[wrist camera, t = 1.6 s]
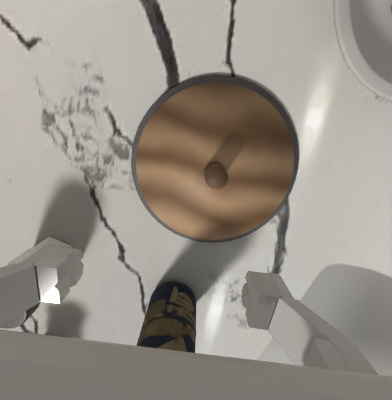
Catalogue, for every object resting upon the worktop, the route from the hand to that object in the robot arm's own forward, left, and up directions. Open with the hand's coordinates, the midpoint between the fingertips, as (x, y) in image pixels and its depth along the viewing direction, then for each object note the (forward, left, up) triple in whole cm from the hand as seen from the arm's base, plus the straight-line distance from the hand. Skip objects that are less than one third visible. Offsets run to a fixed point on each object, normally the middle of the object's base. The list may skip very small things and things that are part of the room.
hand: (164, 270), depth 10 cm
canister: (+27, 0, -24) cm, 36 cm away
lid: (-1, +4, -24) cm, 24 cm away
